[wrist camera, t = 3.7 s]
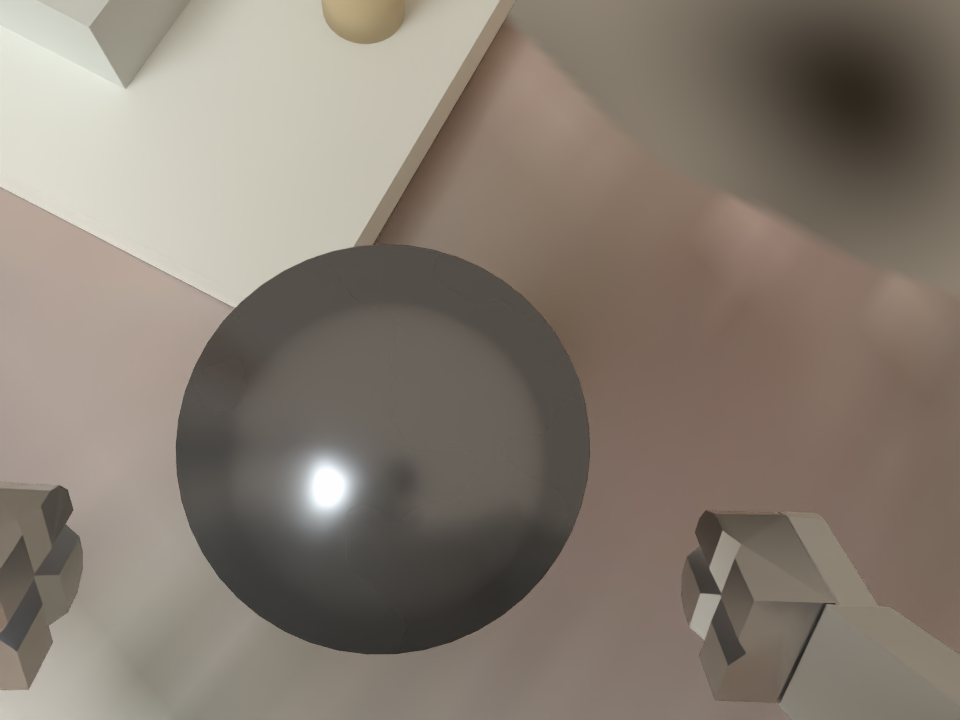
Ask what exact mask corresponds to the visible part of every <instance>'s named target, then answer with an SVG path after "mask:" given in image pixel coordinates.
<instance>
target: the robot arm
mask: <svg viewBox="0 0 960 720" xmlns="http://www.w3.org/2000/svg"><path fill="white" fill-rule="evenodd" d="M72 511H73V507H72V503H71V500H70V496H69V493H68V490H67V489H65V488H63V487H62V486H60V485H46V484H29V483H13V482H0V690H29V688H30V686H31V684H32V682H33V680H34V678H35V677H36V675H37V673H38V671H39V669H40V667H41V665H42V663H43V661H44V659H45V657H46V655H47V653H48V651H49V649H50V647H51V645H52V643H53V640H52V637H51V633H50V629H49V625H50V624H52V623H53V622H55V621H56V620H58V619H59V618H60V617H62V616H63V615H65V614H66V613H67V612H68V611H69V609H70V607H71V605H72V603H73V601H74V599H75V597H76V594H77V592H78V588H79V583H80V579H81V575H82V570H83V551H82V546H81V541H80V537H79V536H78V535H77V534H76V533H75V532H74V531H72V530H71V529H70V528H69V527H68V526H67V525H65V524H66V522H67V520H68V519H69V517H70V515H71V513H72ZM695 534H696V536H697V539H698V541H699V544H700V547H699V548H697V549H696V550H695V551H694V552H692V553H691V554H690V555H688V556H687V559H686V562H685V566H684V570H683V573H682V593H681V596H682V602H683V608H684V612H685V615H686V618H687V622H688V625H689V627H690V628H691V629H692V630H693V631H694V632H695V633H697V634H698V635H699V636H700V637H701V638H702V639H703V640H704V643H703V646H702V649H701V652H700V654H699V657H700V660H701V662H702V665H703V668H704V671H705V674H706V677H707V679H708V682H709V685H710V688H711V691H712V694H713V696H714V699H715V700H721V701H744V702H767V703H780V705H779V707H780V708H781V709H782V710H783V711H784V712H785V713H786V714H787V716H788V717H789V718H790V719H791V720H960V655H959V654H958V653H956V652H955V651H953V650H952V649H950V648H949V647H948V646H946V645H945V644H943V643H942V642H940V641H939V640H937V639H936V638H935V637H933V636H932V635H930V634H929V633H927V632H926V631H924V630H923V629H922V628H920V627H919V626H917V625H916V624H914V623H913V622H911V621H910V620H909V619H907V618H906V617H904V616H903V615H901V614H900V613H898V612H897V611H896V610H894V609H893V608H891V607H889V606H878V604H877V603H876V601H875V600H874V598H873V596H872V595H871V593H870V592H869V590H868V588H867V587H866V585H865V584H864V582H863V580H862V579H861V577H860V576H859V574H858V572H857V571H856V569H855V568H854V566H853V564H852V563H851V561H850V560H849V558H848V556H847V555H846V553H845V552H844V550H843V548H842V547H841V545H840V543H839V542H838V540H837V539H836V537H835V535H834V534H833V532H832V531H831V529H830V527H829V526H828V524H827V523H826V521H825V520H824V518H823V517H821V516H820V515H818V514H817V513H814V512H778V513H775V512H749V511H717V510H706V511H705V512H704V513H703V514H702V516H701V517H700V519H699V522H698V525H697V527H696V530H695Z"/></svg>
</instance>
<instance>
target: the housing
mask: <svg viewBox="0 0 960 720" xmlns="http://www.w3.org/2000/svg"><path fill="white" fill-rule="evenodd" d="M515 2H516V0H0V187H2V188H4V189H6V190H8V191H10V192H12V193H14V194H15V195H17V196H19V197H21V198H23V199H25V200H27V201H29V202H31V203H33V204H35V205H37V206H39V207H41V208H43V209H44V210H46V211H48V212H50V213H52V214H54V215H56V216H58V217H60V218H62V219H64V220H66V221H68V222H70V223H71V224H73V225H75V226H77V227H79V228H81V229H83V230H85V231H87V232H89V233H91V234H93V235H95V236H97V237H99V238H100V239H102V240H104V241H106V242H108V243H110V244H112V245H114V246H116V247H118V248H120V249H122V250H124V251H126V252H128V253H129V254H131V255H133V256H135V257H137V258H139V259H141V260H143V261H145V262H147V263H149V264H151V265H153V266H155V267H157V268H158V269H160V270H162V271H164V272H166V273H168V274H170V275H172V276H174V277H176V278H178V279H180V280H182V281H184V282H186V283H187V284H189V285H191V286H193V287H195V288H197V289H199V290H201V291H203V292H205V293H207V294H209V295H211V296H213V297H214V298H216V299H218V300H220V301H222V302H224V303H226V304H228V305H230V306H232V307H234V308H236V307H237V306H238V305H239V304H240V303H241V302H242V301H243V300H244V299H245V298H246V297H248V296H249V295H250V294H251V293H252V292H254V291H255V290H256V289H257V288H258V287H260V286H261V285H262V284H264V283H265V282H267V281H268V280H270V279H272V278H273V277H275V276H276V275H278V274H279V273H281V272H283V271H284V270H286V269H288V268H291V267H293V266H295V265H297V264H299V263H301V262H303V261H305V260H307V259H310V258H313V257H316V256H320V255H323V254H326V253H329V252H332V251H336V250H341V249H346V248H351V247H356V246H368V245H373V244H374V242H375V240H376V238H377V237H378V235H379V233H380V232H381V230H382V228H383V227H384V225H385V223H386V221H387V220H388V218H389V216H390V215H391V213H392V211H393V210H394V208H395V206H396V204H397V203H398V201H399V199H400V198H401V196H402V194H403V192H404V191H405V189H406V187H407V186H408V184H409V182H410V181H411V179H412V177H413V175H414V174H415V172H416V170H417V169H418V167H419V165H420V164H421V162H422V160H423V158H424V157H425V155H426V153H427V152H428V150H429V148H430V147H431V145H432V143H433V141H434V140H435V138H436V136H437V135H438V133H439V131H440V129H441V128H442V126H443V124H444V123H445V121H446V119H447V118H448V116H449V114H450V112H451V111H452V109H453V107H454V106H455V104H456V102H457V101H458V99H459V97H460V95H461V94H462V92H463V90H464V89H465V87H466V85H467V83H468V82H469V80H470V78H471V77H472V75H473V73H474V72H475V70H476V68H477V66H478V65H479V63H480V61H481V60H482V58H483V56H484V55H485V53H486V51H487V49H488V48H489V46H490V44H491V43H492V41H493V39H494V37H495V36H496V34H497V32H498V31H499V29H500V27H501V26H502V24H503V22H504V20H505V19H506V17H507V15H508V14H509V12H510V10H511V8H512V7H513V5H514V3H515Z"/></svg>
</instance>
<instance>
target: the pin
mask: <svg viewBox="0 0 960 720" xmlns="http://www.w3.org/2000/svg"><path fill="white" fill-rule="evenodd" d="M589 458H590V438H589V424H588V417H587V411H586V404H585V400H584V397H583V393H582V390H581V386H580V383H579V379H578V377H577V374H576V372H575V370H574V367H573V365H572V363H571V361H570V358H569V356H568V354H567V352H566V351H565V349H564V347H563V346H562V344H561V342H560V340H559V339H558V337H557V335H556V334H555V332H554V331H553V330H552V328H551V327H550V326H549V325H548V323H547V322H546V321H545V319H544V318H543V317H542V316H541V314H540V313H539V312H538V311H537V310H536V309H535V308H534V307H533V306H532V305H531V304H530V303H529V302H528V301H527V300H526V299H525V298H524V297H523V296H522V295H521V294H519V293H518V292H517V291H516V290H514V289H513V288H512V287H510V286H509V285H508V284H507V283H505V282H504V281H503V280H501V279H499V278H498V277H496V276H494V275H493V274H491V273H489V272H488V271H486V270H484V269H483V268H481V267H479V266H477V265H474V264H472V263H470V262H468V261H465V260H463V259H461V258H458V257H456V256H452V255H449V254H446V253H442V252H439V251H436V250H431V249H426V248H420V247H414V246H407V245H386V244H381V245H368V246H356V247H351V248H346V249H341V250H336V251H332V252H329V253H326V254H323V255H320V256H316V257H313V258H310V259H307V260H305V261H303V262H301V263H299V264H297V265H295V266H293V267H291V268H288V269H286V270H284V271H283V272H281V273H279V274H278V275H276V276H275V277H273V278H272V279H270V280H268V281H267V282H265V283H264V284H262V285H261V286H260V287H258V288H257V289H256V290H255V291H254V292H252V293H251V294H250V295H249V296H248V297H246V298H245V299H244V300H243V301H242V302H241V303H240V304H239V305H238V306H237V307H236V308H235V309H234V310H233V311H232V312H231V313H230V314H229V315H228V316H227V318H226V319H225V320H224V321H223V322H222V323H221V325H220V326H219V328H218V329H217V330H216V332H215V333H214V334H213V336H212V337H211V339H210V340H209V341H208V343H207V345H206V346H205V348H204V350H203V352H202V354H201V356H200V358H199V359H198V361H197V363H196V365H195V367H194V369H193V372H192V375H191V377H190V380H189V383H188V385H187V388H186V390H185V394H184V398H183V402H182V406H181V410H180V415H179V419H178V429H177V439H176V464H177V477H178V483H179V489H180V494H181V500H182V504H183V507H184V510H185V513H186V516H187V519H188V522H189V525H190V528H191V530H192V532H193V534H194V536H195V538H196V540H197V542H198V545H199V547H200V549H201V551H202V553H203V554H204V556H205V557H206V559H207V560H208V562H209V563H210V565H211V566H212V568H213V569H214V571H215V572H216V574H217V575H218V577H219V578H220V579H221V580H222V581H223V582H224V583H225V584H226V585H227V587H228V588H229V589H230V590H231V591H232V592H233V593H234V594H235V595H236V596H237V598H239V599H240V600H241V601H242V602H243V603H245V604H246V605H247V606H248V607H249V608H251V609H252V610H253V611H254V612H255V613H257V614H258V615H259V616H260V617H262V618H264V619H265V620H267V621H268V622H270V623H272V624H273V625H275V626H277V627H278V628H280V629H281V630H283V631H285V632H287V633H290V634H292V635H294V636H296V637H299V638H301V639H303V640H306V641H308V642H310V643H314V644H317V645H321V646H324V647H328V648H331V649H335V650H339V651H347V652H354V653H362V654H399V653H406V652H413V651H420V650H426V649H429V648H433V647H436V646H439V645H443V644H446V643H450V642H453V641H455V640H457V639H460V638H462V637H464V636H466V635H469V634H471V633H473V632H475V631H478V630H479V629H481V628H483V627H484V626H486V625H488V624H489V623H491V622H492V621H494V620H496V619H497V618H499V617H501V616H502V615H503V614H505V613H506V612H507V611H508V610H510V609H511V608H512V607H513V606H514V605H516V604H517V603H518V602H519V601H521V600H522V599H523V598H524V597H525V596H526V595H527V594H528V593H529V592H530V591H531V590H532V589H533V588H534V586H535V585H536V584H537V583H538V582H539V581H540V580H541V579H542V578H543V577H544V575H545V574H546V572H547V571H548V570H549V568H550V567H551V566H552V564H553V563H554V561H555V560H556V559H557V557H558V556H559V554H560V552H561V550H562V548H563V547H564V545H565V543H566V541H567V539H568V537H569V535H570V534H571V532H572V529H573V526H574V524H575V521H576V519H577V516H578V513H579V511H580V508H581V505H582V500H583V496H584V492H585V488H586V484H587V478H588V468H589Z"/></svg>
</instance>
